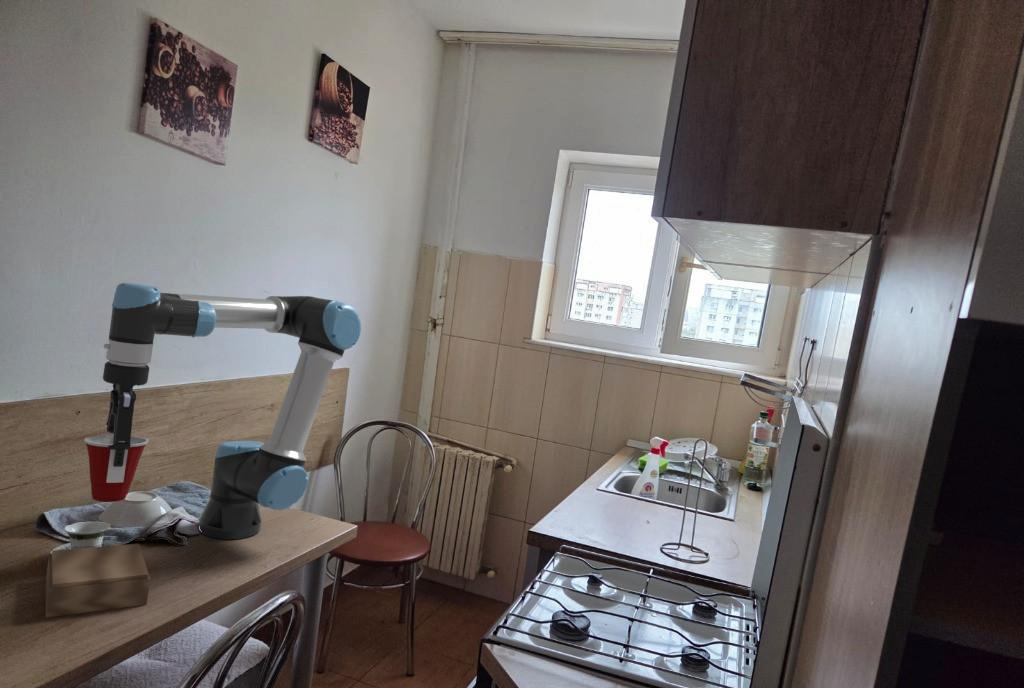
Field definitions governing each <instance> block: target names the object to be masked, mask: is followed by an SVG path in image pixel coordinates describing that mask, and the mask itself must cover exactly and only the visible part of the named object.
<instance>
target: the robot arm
mask: <svg viewBox="0 0 1024 688" xmlns="http://www.w3.org/2000/svg"><path fill="white" fill-rule="evenodd" d="M111 307H112V309H111V318H110V324H109V325H110V326H109V334H108V341H107V342H108V343H104V344H103V349H106V356H105V358H106V360H108V361H106V362H105V363H104V368H103V376H102V380H103V381H104V382H105V383H108V384H112V390H110V400H109V401H110V402H109V410H108V415H107V416H108V417H107V420H106V421H107V422H106V423H105V425H106V431H107V432H105V433H106V434H105V435H113V445H109V446H108V449H111V452H110V459H109V466H108V473H107V480H106V482H107V483H117V482H123V481H124V474H125V467H126V460H127V453H128V449H129V448H130V446H131V444H130V440H131V436H132V427H133V417H134V409H135V402H136V400H137V394H136V392H135V391H134V387H135V386H143V385H146V384H147V383H148V380H149V374H150V367H149V365H148V364H150V363H151V361H152V356H153V355H152V354H153V347H154V339H155V335H164V336H166V335H168V336H178V337H179V336H180V337H191V338H195V337H197V338H198V337H199V338H200V337H202V338H203V337H207V336H210V335H211V333H212V332H213V331H214V330H215V328H220V329H221V328H222V329H226V328H227V329H258V330H259V329H264V330H265V331H267V332H268V333H270V334H274V333H275V334H283V335H288V336H292V337H295V338H298V342H297V345H298V347H299V348H300V351H301V352H300V354H299V357H298V359H297V362H296V365H295V369H294V370H293V371H294V372H293V373H292V377H291V379H290V382H289V385H288V387H287V390H286V393H285V395H284V399H283V402H282V404H281V407H280V409H279V413H278V414H277V418H276V421H275V422H274V425H273V429H272V432H271V434H270V437H269V440H268V441H267V442H266V443H264V442H260V441H254V440H233V441H232V440H231V441H226V442H223V443H221V444H219V445H218V446H217V448H216V453H215V456H214V465H213V473H212V479H211V480H212V481H211V485H210V486H211V488H210V495H209V499H208V501H207V503H206V506H205V507H204V509H203V511H202V513H201V515H200V517H199V520H198V525H199V526H200V529H201V531H202V533H203V535H204V536H207V537H210V538H214V539H219V540H220V539H221V540H237V539H238V540H239V539H245V538H249V536H250V537H252V535H253V536H255V535H257V534H258V533H259V532H260V531H261V529H262V523H263V522H262V515H261V510H260V506H262V507H263V508H268V509H270V510H273V511H274V510H275V511H282V510H283V511H284V510H287V509H289V508H291V507H293V505H294V504H296V503H298V502H299V501H300V499H302V497H303V496H304V494H305V492H306V490H307V488H308V484H309V477H308V473H307V471H306V470H305V468H304V467H305V463H306V461H307V458H306V455H305V454H304V448H305V446H306V444H307V440H308V437H309V434H310V432H311V429H312V426H313V423H314V420H315V417H316V415H317V411H318V409H319V406H320V403H321V400H322V398H323V394H324V392H325V388H326V386H327V384H328V380H329V378H330V375H331V372H332V369H333V367H334V363H335V362H337V361H338V360H341V359H342V358H343V356H344V353H345V351H346V350H348V349H352V347H353V346H355V345H356V344H357V342H358V341H359V339H360V337H361V332H362V323H361V319H360V318H359V313H358V312H357V310H356V309H355V308H354V307H353V306H352V305H350V304H348V303H345V302H342V301H339V300H332V299H327V298H326V299H325V298H319V297H315V296H310V295H294V296H291V295H289V296H286V295H285V296H281V295H280V296H279V295H277V296H275V295H270V296H267V297H266V298H265V299H263V298H248V297H247V298H246V297H234V296H233V297H232V296H216V295H201V294H187V293H186V294H185V293H170V292H169V293H168V292H161V290H160V288H158V287H156V286H152V285H145V284H138V283H133V282H132V283H131V282H121V283H119V284H118V285H116V288H115V292H114V297H113V301H112V303H111ZM119 441H125V442H119ZM202 533H201V534H202ZM256 533H257V534H256Z"/></svg>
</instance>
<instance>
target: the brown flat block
mask: <svg viewBox="0 0 1024 688" xmlns="http://www.w3.org/2000/svg"><path fill="white" fill-rule="evenodd" d="M147 566H148V565H147V564H146V561H145V556H144V554H143V550H142V547H141V545H140V543H130V544H118V545H106V546H93V547H82V548H69V549H66V548H65V549H57V550H52V551H51V553H49V554H48V560H47V567H46V576H45V618H53V617H54V618H56V617H60V616H61V617H62V616H69V615H76V614H77V615H78V614H85V613H92V612H99V611H107V610H114V609H115V610H116V609H123V608H131V607H138V606H145V605H146V604H148V599H149V591H150V585H151V584H150V583H151V577H150V574H149V571H148V567H147Z"/></svg>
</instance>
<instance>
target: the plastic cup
mask: <svg viewBox="0 0 1024 688" xmlns="http://www.w3.org/2000/svg"><path fill="white" fill-rule="evenodd" d="M119 442H125V441H119ZM84 443H85V445H86V447H87V455H88V463H89V480H90V486H91V487H90V490H91V491H90V492H91V497H92V498H91V499H92V500H93V501H96V502H100V503H115V502H120V501H123V500H125V499H126V498H127V496H128V493H129V491H130V488H131V484H132V483H133V480H134V477H135V474H136V472H137V468H138V466H139V462H140V459H141V456H142V455H143V452H144V449H145V447H146V446H147V444H148V443H149V439H148V438H146V437H143V436H135V435H131V440H130V444H131V446H130V448H129V449H128V453H127V460H126V467H125V474H124V481H123V482H117V483H107V482H106V480H107V473H108V466H109V459H110V452H111V449H108V446H109V445H113V435H106V434H102V435H93V436H88V437H85V438H84Z"/></svg>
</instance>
